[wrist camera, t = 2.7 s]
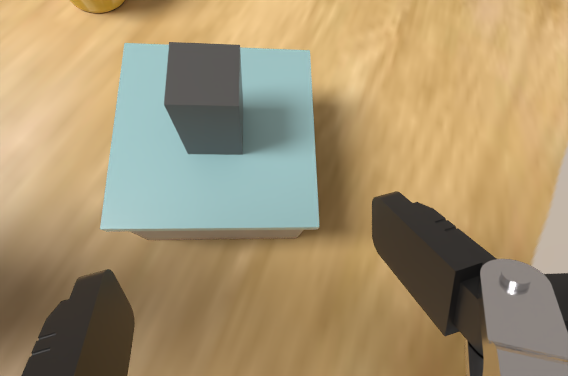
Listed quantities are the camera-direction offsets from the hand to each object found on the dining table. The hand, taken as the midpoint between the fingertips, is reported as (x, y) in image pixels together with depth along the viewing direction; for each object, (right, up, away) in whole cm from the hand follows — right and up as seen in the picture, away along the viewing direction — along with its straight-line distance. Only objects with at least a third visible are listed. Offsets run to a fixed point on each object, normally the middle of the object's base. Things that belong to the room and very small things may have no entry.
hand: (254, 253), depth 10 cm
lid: (-4, +6, +16) cm, 18 cm away
